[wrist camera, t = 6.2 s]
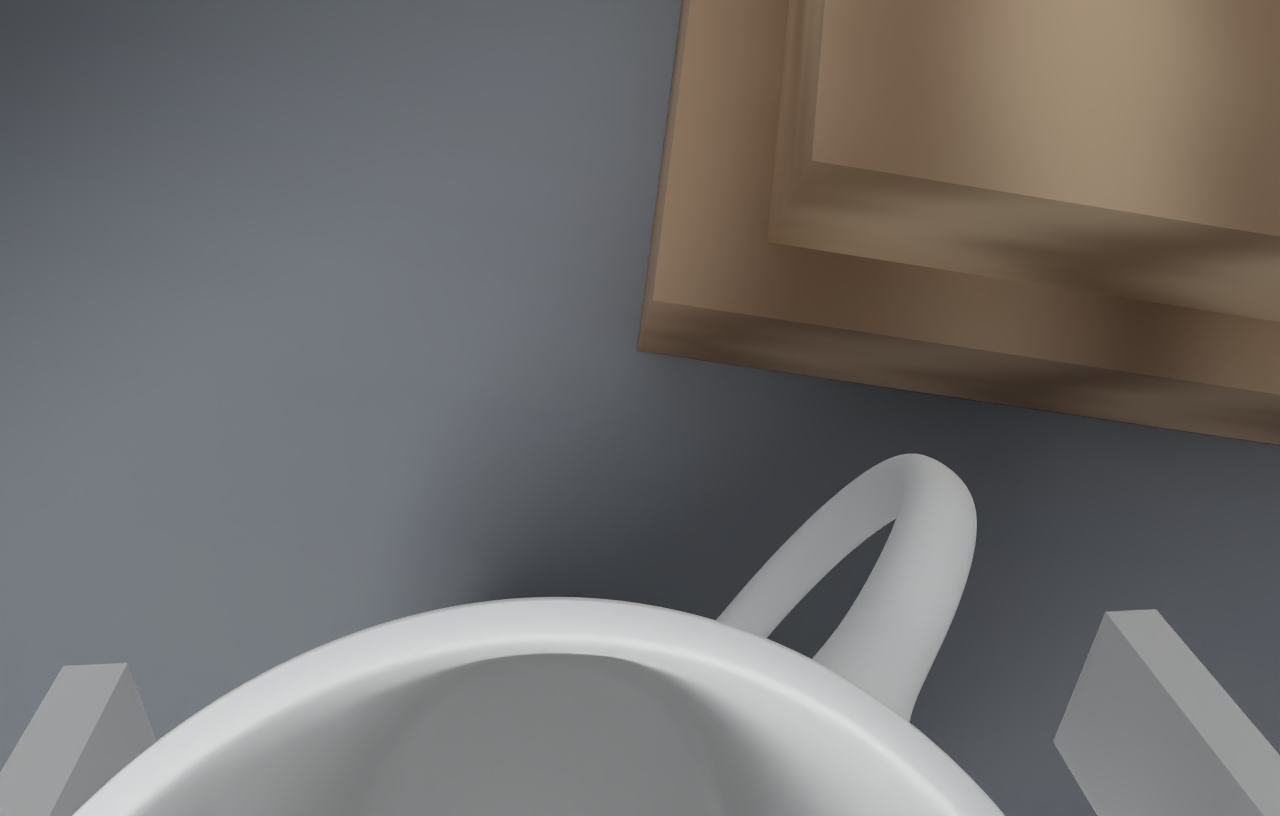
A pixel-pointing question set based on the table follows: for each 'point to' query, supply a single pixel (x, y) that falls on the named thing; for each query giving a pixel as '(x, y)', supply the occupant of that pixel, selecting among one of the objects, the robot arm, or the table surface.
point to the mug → (609, 698)
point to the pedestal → (981, 202)
